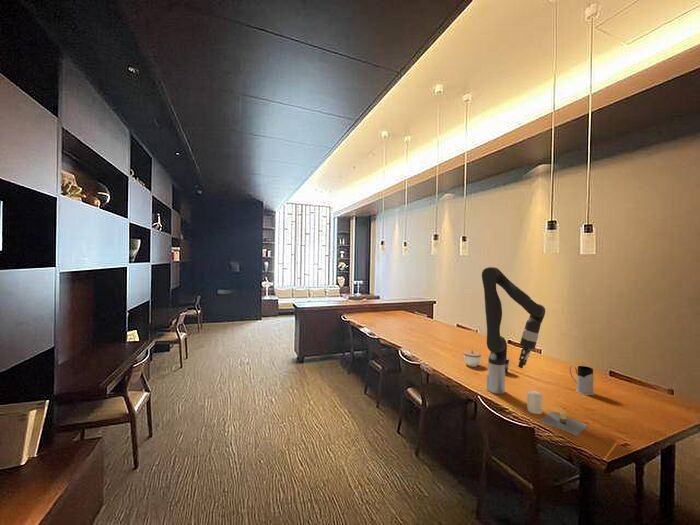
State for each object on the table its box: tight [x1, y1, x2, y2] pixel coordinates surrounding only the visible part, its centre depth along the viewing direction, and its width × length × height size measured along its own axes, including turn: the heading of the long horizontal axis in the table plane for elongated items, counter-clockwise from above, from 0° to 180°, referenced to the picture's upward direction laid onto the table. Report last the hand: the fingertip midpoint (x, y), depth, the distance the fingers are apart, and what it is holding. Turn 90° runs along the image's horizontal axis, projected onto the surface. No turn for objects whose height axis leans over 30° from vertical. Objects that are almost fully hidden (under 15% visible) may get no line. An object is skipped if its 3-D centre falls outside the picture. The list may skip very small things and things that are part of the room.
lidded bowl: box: [463, 350, 482, 368], centre depth 238 cm, size 13×13×11 cm
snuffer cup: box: [526, 390, 543, 415], centre depth 164 cm, size 6×6×10 cm
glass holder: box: [569, 365, 595, 396], centre depth 192 cm, size 9×14×15 cm, turn 15°
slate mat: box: [538, 411, 588, 436], centre depth 152 cm, size 16×15×1 cm
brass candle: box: [559, 411, 568, 424], centre depth 152 cm, size 3×3×5 cm
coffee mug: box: [505, 356, 510, 374], centre depth 224 cm, size 12×9×10 cm
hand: (521, 366), depth 177 cm, fingers open, 8 cm apart
